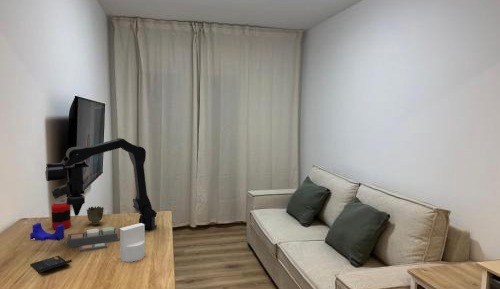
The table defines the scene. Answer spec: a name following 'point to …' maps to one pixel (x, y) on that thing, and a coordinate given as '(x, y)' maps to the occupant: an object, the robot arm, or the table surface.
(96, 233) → the cream key
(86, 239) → the keypad
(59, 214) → the soda can
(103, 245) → the strip
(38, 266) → the calculator
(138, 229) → the cylinder with rectangular tab
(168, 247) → the table surface
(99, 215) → the cup
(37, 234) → the cable clip
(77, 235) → the terracotta key
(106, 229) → the sage key
